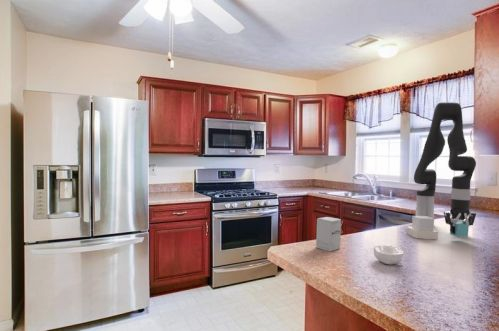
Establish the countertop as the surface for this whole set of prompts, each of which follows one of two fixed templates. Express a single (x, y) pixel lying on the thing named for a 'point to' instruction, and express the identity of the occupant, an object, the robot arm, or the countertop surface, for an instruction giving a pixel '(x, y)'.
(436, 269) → the countertop surface
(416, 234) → the cream slab
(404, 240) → the countertop surface
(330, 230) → the supplement box
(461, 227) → the teal block
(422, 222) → the grey cube
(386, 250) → the white bowl
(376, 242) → the countertop surface
